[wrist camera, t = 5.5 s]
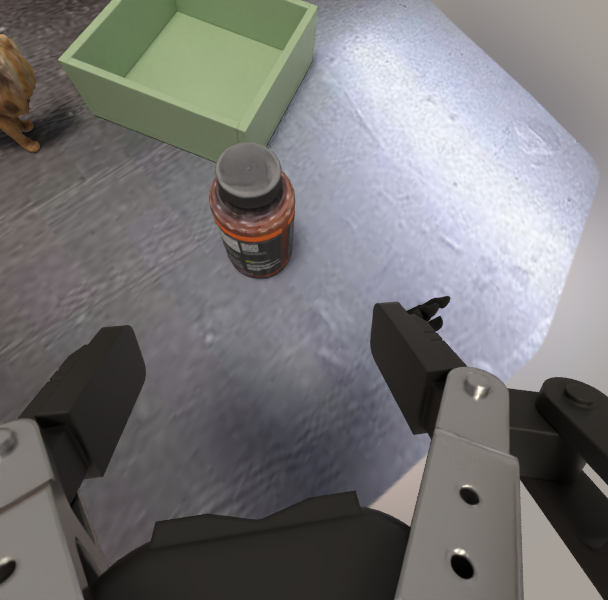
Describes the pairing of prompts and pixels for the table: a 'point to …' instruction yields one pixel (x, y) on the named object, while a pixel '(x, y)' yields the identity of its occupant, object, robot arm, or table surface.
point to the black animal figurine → (431, 311)
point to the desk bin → (194, 68)
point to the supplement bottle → (253, 209)
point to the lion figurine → (15, 93)
